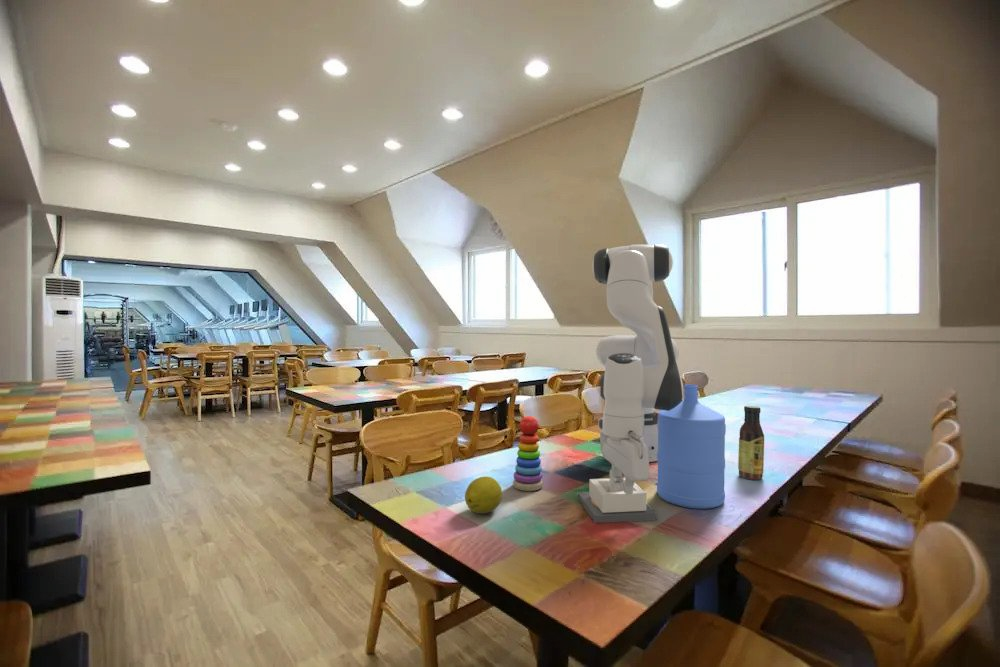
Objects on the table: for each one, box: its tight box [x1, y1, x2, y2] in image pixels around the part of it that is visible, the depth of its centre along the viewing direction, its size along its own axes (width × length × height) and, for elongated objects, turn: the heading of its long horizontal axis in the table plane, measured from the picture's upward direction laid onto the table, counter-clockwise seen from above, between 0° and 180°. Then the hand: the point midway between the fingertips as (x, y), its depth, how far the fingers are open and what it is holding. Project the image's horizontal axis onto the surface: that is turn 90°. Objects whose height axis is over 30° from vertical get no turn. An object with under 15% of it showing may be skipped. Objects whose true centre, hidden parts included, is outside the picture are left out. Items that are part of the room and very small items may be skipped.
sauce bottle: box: [737, 405, 765, 481], centre depth 130 cm, size 6×6×20 cm
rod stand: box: [577, 468, 657, 524], centre depth 109 cm, size 14×14×9 cm
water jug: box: [656, 384, 727, 510], centre depth 115 cm, size 16×16×28 cm
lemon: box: [464, 476, 503, 515], centre depth 107 cm, size 11×8×8 cm
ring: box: [588, 477, 647, 513], centre depth 108 cm, size 10×10×4 cm
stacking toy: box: [512, 415, 544, 492], centre depth 123 cm, size 8×8×19 cm
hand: (623, 488), depth 104 cm, fingers open, 4 cm apart
